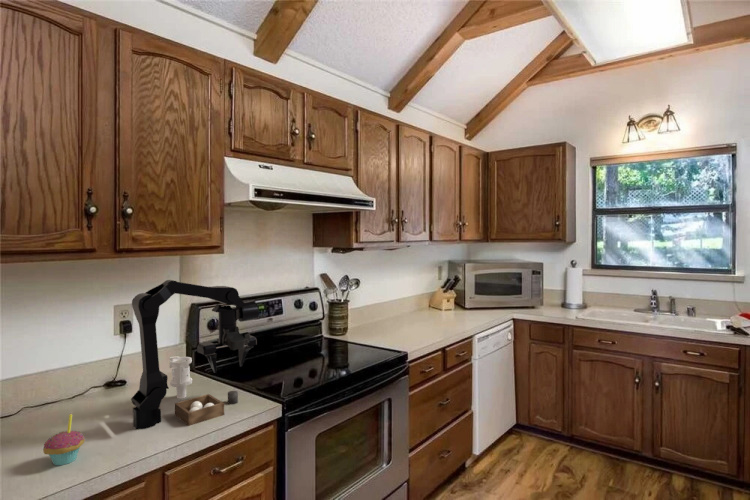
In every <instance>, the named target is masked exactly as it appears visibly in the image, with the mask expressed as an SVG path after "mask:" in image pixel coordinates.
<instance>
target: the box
mask: <svg viewBox="0 0 750 500" xmlns="http://www.w3.org/2000/svg"><path fill="white" fill-rule="evenodd" d="M195 401H199V402H201V403H202V406H203V407H202V409H198V410H195V411H192V412H190V411H189V410H190V406H191V404H192V403H193V402H195ZM207 403H213V404H214V405H212V406H209V407H205V408H204V406H205V405H206V404H207ZM174 416H175V417H176V418H177V419H179V420H180V421H182V422H183V423H185V424H186V425H187V426H188V427H190V426H194V425H196V424H199V423H203V422H206V421H209V420H212V419H215V418H218V417H222V416H225V403H224V401H222V400H220V399H218V398H217V397H215V396H213V395H211V394H209V393H207V394H204V395H200V396H196V397H193V398H188V399H185V400H181V401H178V402H175V403H174Z"/></svg>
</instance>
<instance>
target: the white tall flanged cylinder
mask: <svg viewBox="0 0 750 500" xmlns="http://www.w3.org/2000/svg"><path fill="white" fill-rule="evenodd" d="M192 359H193V358H192V357H190V356H178V355H176V356H170V357H169V368H170V369H171V368H172V370H171V371H172V372H171V377H172V378H171V380H170V381H169V385H170V387H173V388H176V398H177V399H180V400H181V399H184V398H186V397H187V386H188V385H191V384H192V383H193V378H192V377H191V376H190V374H191V371H190V370H191V368H190V364H192V361H193V360H192Z"/></svg>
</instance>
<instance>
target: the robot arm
mask: <svg viewBox="0 0 750 500" xmlns="http://www.w3.org/2000/svg"><path fill="white" fill-rule="evenodd" d="M175 294H177V295H183V296H184V295H185V296H192V297H196V298H197V297H198V298H206V299H209V300H212V301H215V302H219V303H221V304H226V305H221V304H219V303H216V304H215V306H214V307H213V308H211V311H212V312H214V313H217V314H218V315H217V317H218V326H216V330H217V331H218V338H216V340H217V342H218V343H217V342H216V343H213V342H211V341H206V342H199V343H198V344H197V347H196V351H197V353H198V354H201V355H203V356H205V358H206V359H207V361H208V363H209V365H210V367H211V369H212V371H213V373H214V374H216V373H217V356H218V354H217V353H216V352H217V350H220V349H225V348H226V349H227V348H228V349H229V350H230V351H236V350H238V362H239V367H240V368H242V367H243V366H244V363H245V360H246V358H247V357H246V356H247V355H248V352H249V351H250V350H251V349H253V348H254V346H257V345H258V340H257V337H256V336H255V335H254V336H253V335H251V333H250V332H249V331H246V332H240V330H239V326H238V325H237V320H238V321H239V322H240V323H241V322H242V323H243V322H249V321H255V320H258V318H259V316H260V310H259V307H258V305H257V304H256V300H252V299H251V300H249V301H244V300H243V299H242V298H241V297H240V296H239V291H238V290H237V288H235V287H233V286H232V287H231V286H226V285H215V286H205V285H201V284H200V285H198V284H193V283H189V282H187V283H186V282H183V281H177V280H173V279H167V280H165V281H163V282H162V283H160V284H158V285H156V286H155V287H152V288H151V289H149V290H147V291H146V292H142V293H138V294H136V295H135V296H134V297H133V299H132V300H131V307H132V309H133V313H134V316H135V318H136V320H137V324H138V326H139V338H140V339H139V340H140V348H141V361H142V364H141V365H142V373H141V375H140V376H141V377H140V379H139V388H138V390H137V391H136V393H134V395H133V396H132V397H131V398H130V400H131V403H132V404H133V405H134V406H135V407H132V418H133V419H132V424H133V428H134V429H135V430H145V429H149V428H152V427H155V426H156V425H158V424H160V423H161V422H162V409H161V408H160V406H161V403H162V400H163V399H164V398H165V397H166V395H167V391H168V390H169V388H170V387H169V386H168V375H167V374H166V373H164V372H162V371H160V361H159V360H160V359H159V348H158V347H159V346H158V336H157V335H158V334H157V320H158V317H159V315H160V314H159V313H160V306H162V305H163V304H164V303H166V302H167V301H168V300H169V299H170V298H171V297H172V296H173V295H175ZM232 306H233V307H232Z"/></svg>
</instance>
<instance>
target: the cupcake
mask: <svg viewBox="0 0 750 500" xmlns="http://www.w3.org/2000/svg"><path fill="white" fill-rule="evenodd" d="M72 413H73V410H71V411H70V414H69V415H68V422H67V430H66V431H60V432H59V433H56V434H55V435H53V436H51V437H49V438H48V439H47V440H46V441H45V443H44V444H43V449H42V450H43V453H44V455H48V456H49V457H50V459H51V462H52V464H53V465H55V466H64V465H68V464H70V463H73V462H74V461H75V460H76V459H77V457H78V453H79V452H80V451H79V450H80V448H81V446H82V445H84V444H85V435H84V434H83V433H81V432H80V431H76V430H72V420H73V414H72Z"/></svg>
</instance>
